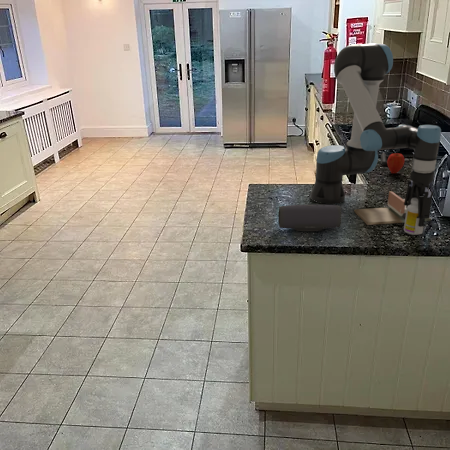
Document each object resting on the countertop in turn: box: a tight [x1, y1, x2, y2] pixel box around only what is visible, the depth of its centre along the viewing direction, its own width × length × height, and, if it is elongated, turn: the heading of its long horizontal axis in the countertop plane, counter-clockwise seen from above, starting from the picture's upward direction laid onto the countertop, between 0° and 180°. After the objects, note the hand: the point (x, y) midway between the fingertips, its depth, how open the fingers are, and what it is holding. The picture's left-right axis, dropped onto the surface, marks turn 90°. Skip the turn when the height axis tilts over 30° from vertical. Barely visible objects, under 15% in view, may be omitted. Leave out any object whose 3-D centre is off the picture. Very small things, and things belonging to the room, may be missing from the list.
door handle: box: [379, 152, 410, 167], centre depth 254 cm, size 3×20×16 cm
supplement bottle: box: [403, 198, 425, 236], centre depth 165 cm, size 7×7×13 cm
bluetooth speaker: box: [277, 204, 342, 232], centre depth 170 cm, size 23×9×10 cm, turn 89°
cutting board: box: [354, 206, 432, 226], centre depth 182 cm, size 26×14×1 cm, turn 96°
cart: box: [387, 190, 407, 219], centre depth 181 cm, size 12×14×7 cm
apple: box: [387, 152, 405, 174], centre depth 233 cm, size 9×8×11 cm
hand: (413, 229), depth 168 cm, fingers closed on supplement bottle, 7 cm apart
